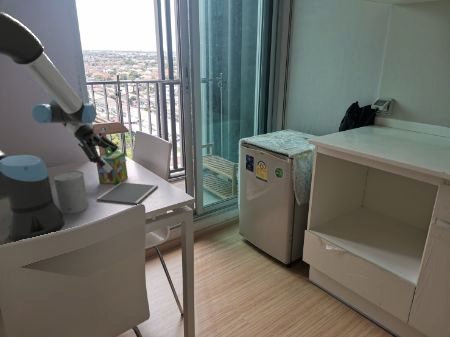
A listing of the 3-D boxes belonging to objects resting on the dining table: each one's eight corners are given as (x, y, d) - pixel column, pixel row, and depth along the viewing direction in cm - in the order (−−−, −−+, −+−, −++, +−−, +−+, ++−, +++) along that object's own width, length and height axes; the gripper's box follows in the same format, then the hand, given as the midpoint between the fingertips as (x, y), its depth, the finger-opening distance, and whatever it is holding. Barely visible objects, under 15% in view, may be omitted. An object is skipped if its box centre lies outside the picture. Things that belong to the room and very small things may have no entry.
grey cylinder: (54, 211, 115) (47, 178, 111) (74, 200, 123) (69, 169, 119) (74, 215, 111) (68, 182, 107) (94, 203, 120) (89, 172, 116)
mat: (137, 205, 118) (137, 202, 118) (96, 200, 122) (96, 198, 122) (157, 187, 134) (157, 185, 133) (120, 184, 138) (120, 182, 137)
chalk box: (118, 184, 137) (113, 151, 132) (98, 183, 139) (93, 150, 134) (128, 177, 145) (124, 145, 141) (110, 176, 147) (105, 144, 142)
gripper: (92, 129, 150) (127, 163, 151) (57, 141, 129) (97, 181, 130) (101, 118, 147) (136, 153, 148) (65, 129, 126) (107, 169, 127)
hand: (118, 166), depth 139 cm, fingers open, 10 cm apart
